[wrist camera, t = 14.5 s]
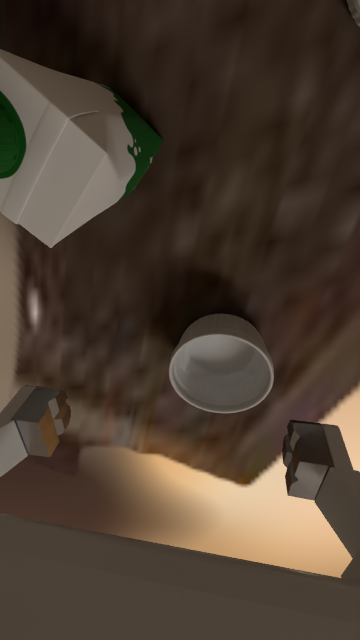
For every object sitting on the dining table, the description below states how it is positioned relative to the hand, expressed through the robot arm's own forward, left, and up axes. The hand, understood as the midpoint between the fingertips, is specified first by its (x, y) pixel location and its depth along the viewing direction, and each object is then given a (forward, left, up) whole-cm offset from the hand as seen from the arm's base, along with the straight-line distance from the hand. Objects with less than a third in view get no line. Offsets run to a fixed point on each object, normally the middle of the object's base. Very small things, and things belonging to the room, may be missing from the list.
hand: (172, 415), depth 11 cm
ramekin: (+18, +2, -29) cm, 35 cm away
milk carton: (-7, -11, -29) cm, 32 cm away
